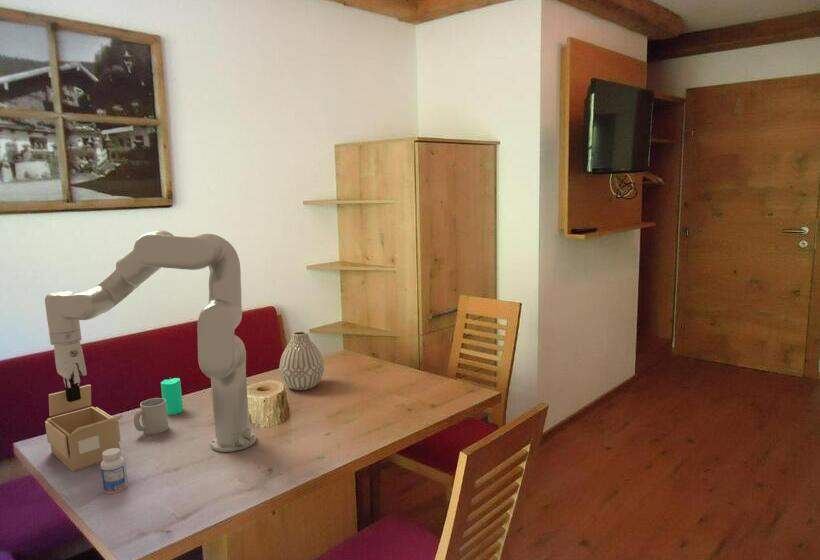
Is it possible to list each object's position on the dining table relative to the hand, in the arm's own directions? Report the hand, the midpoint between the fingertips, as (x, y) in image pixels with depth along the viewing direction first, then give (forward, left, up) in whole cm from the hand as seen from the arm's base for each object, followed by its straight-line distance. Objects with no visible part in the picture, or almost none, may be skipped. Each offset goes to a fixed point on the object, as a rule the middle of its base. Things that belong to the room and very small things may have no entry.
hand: (73, 400), depth 170 cm
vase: (-6, -73, -15) cm, 75 cm away
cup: (-3, -19, -15) cm, 25 cm away
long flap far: (+5, 0, -5) cm, 7 cm away
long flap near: (-13, 0, -5) cm, 14 cm away
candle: (+8, -31, -15) cm, 35 cm away
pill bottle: (-31, +2, -15) cm, 35 cm away
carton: (-4, 0, -15) cm, 15 cm away
